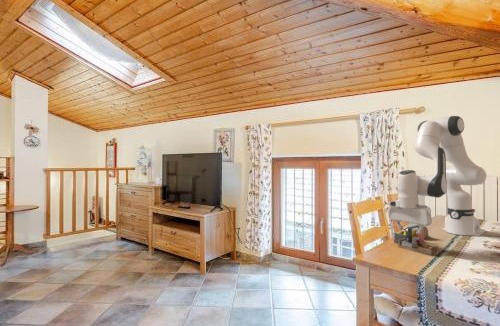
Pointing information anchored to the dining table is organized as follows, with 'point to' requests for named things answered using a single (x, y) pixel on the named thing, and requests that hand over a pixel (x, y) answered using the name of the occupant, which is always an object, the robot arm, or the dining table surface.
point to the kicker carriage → (413, 238)
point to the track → (419, 248)
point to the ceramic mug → (417, 228)
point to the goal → (400, 234)
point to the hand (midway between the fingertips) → (409, 231)
